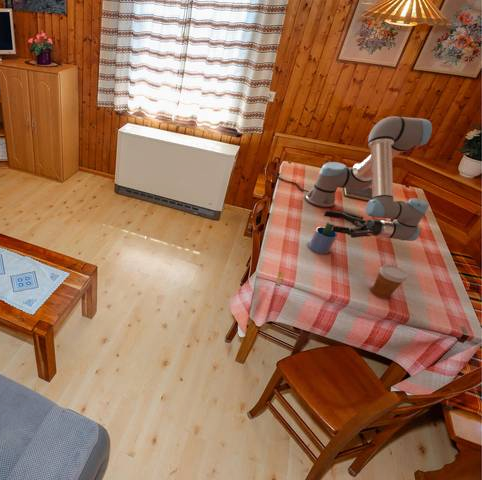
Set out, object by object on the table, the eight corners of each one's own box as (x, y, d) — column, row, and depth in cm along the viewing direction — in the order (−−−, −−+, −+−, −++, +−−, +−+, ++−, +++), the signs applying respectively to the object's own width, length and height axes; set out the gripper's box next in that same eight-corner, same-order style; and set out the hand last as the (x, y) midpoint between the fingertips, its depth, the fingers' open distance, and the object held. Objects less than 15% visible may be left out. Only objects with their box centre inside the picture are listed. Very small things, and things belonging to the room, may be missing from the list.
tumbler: (305, 247, 182) (313, 231, 176) (313, 240, 187) (320, 224, 182) (324, 256, 177) (332, 239, 171) (331, 248, 182) (340, 232, 176)
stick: (314, 246, 182) (326, 222, 173) (317, 244, 183) (328, 220, 175) (321, 249, 180) (332, 225, 172) (323, 247, 182) (335, 223, 173)
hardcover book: (387, 205, 222) (389, 201, 220) (344, 196, 229) (346, 192, 227) (383, 193, 234) (385, 190, 232) (342, 185, 241) (344, 182, 240)
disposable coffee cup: (389, 288, 160) (404, 267, 153) (396, 303, 152) (411, 281, 145) (365, 283, 162) (378, 261, 155) (370, 297, 154) (384, 275, 148)
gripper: (385, 250, 162) (332, 242, 165) (365, 220, 182) (319, 214, 185) (393, 236, 158) (340, 228, 161) (372, 207, 178) (325, 200, 181)
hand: (328, 220), depth 173 cm, fingers open, 13 cm apart
